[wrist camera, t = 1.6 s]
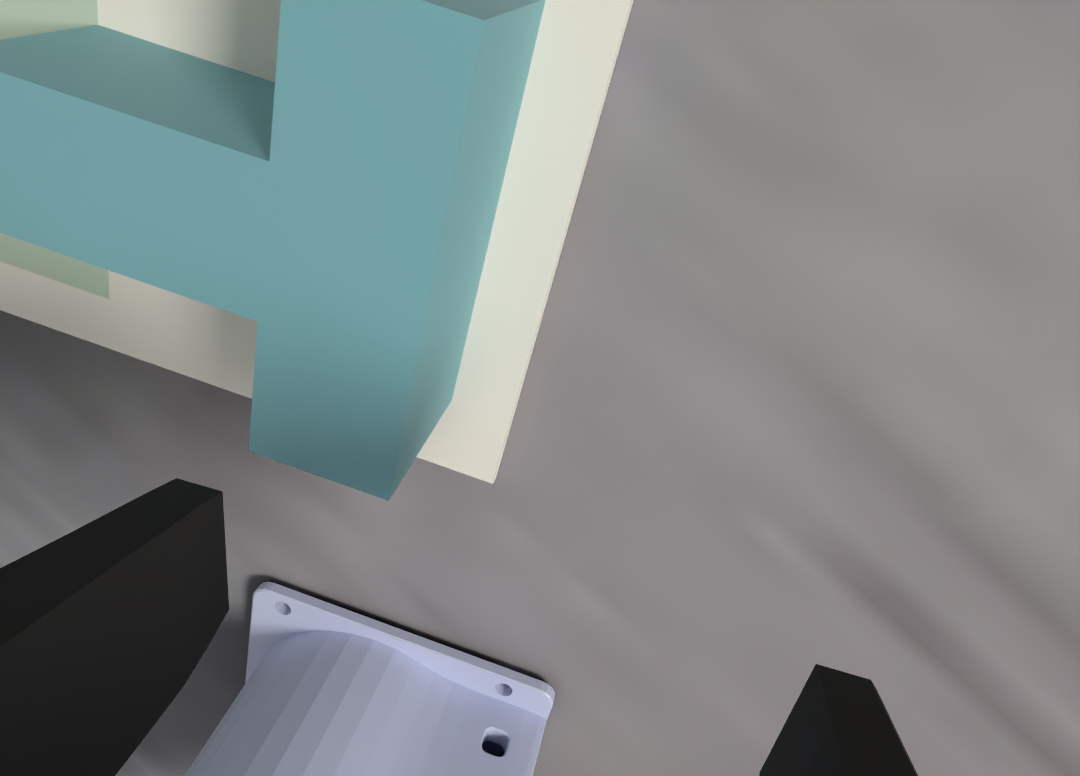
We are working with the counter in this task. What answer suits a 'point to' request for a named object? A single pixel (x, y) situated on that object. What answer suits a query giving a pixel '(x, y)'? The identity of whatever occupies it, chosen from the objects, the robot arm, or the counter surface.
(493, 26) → the tee block
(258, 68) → the mat
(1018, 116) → the counter surface
